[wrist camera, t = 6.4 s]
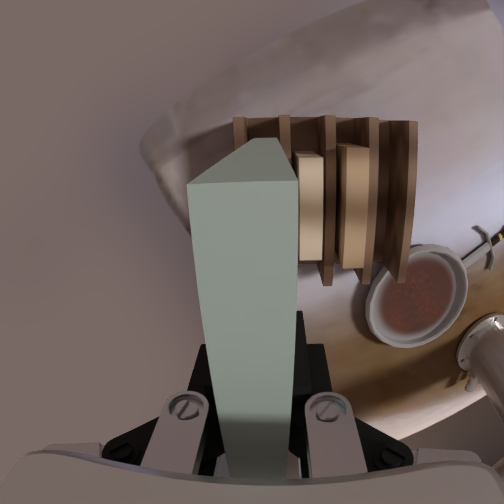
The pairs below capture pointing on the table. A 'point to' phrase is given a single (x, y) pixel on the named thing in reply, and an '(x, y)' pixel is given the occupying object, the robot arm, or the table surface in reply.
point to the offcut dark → (351, 204)
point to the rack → (380, 180)
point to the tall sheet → (249, 299)
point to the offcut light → (309, 204)
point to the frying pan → (422, 294)
